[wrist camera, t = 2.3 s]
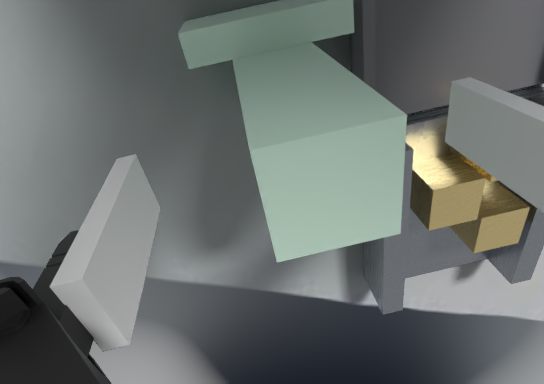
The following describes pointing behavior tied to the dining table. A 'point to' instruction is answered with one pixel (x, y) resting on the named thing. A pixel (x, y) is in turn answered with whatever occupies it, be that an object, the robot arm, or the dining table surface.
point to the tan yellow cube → (494, 220)
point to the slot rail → (443, 241)
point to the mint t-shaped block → (308, 124)
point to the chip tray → (445, 47)
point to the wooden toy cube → (445, 191)
